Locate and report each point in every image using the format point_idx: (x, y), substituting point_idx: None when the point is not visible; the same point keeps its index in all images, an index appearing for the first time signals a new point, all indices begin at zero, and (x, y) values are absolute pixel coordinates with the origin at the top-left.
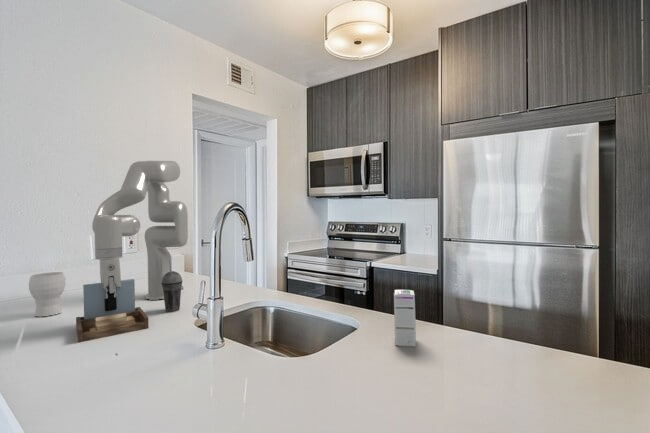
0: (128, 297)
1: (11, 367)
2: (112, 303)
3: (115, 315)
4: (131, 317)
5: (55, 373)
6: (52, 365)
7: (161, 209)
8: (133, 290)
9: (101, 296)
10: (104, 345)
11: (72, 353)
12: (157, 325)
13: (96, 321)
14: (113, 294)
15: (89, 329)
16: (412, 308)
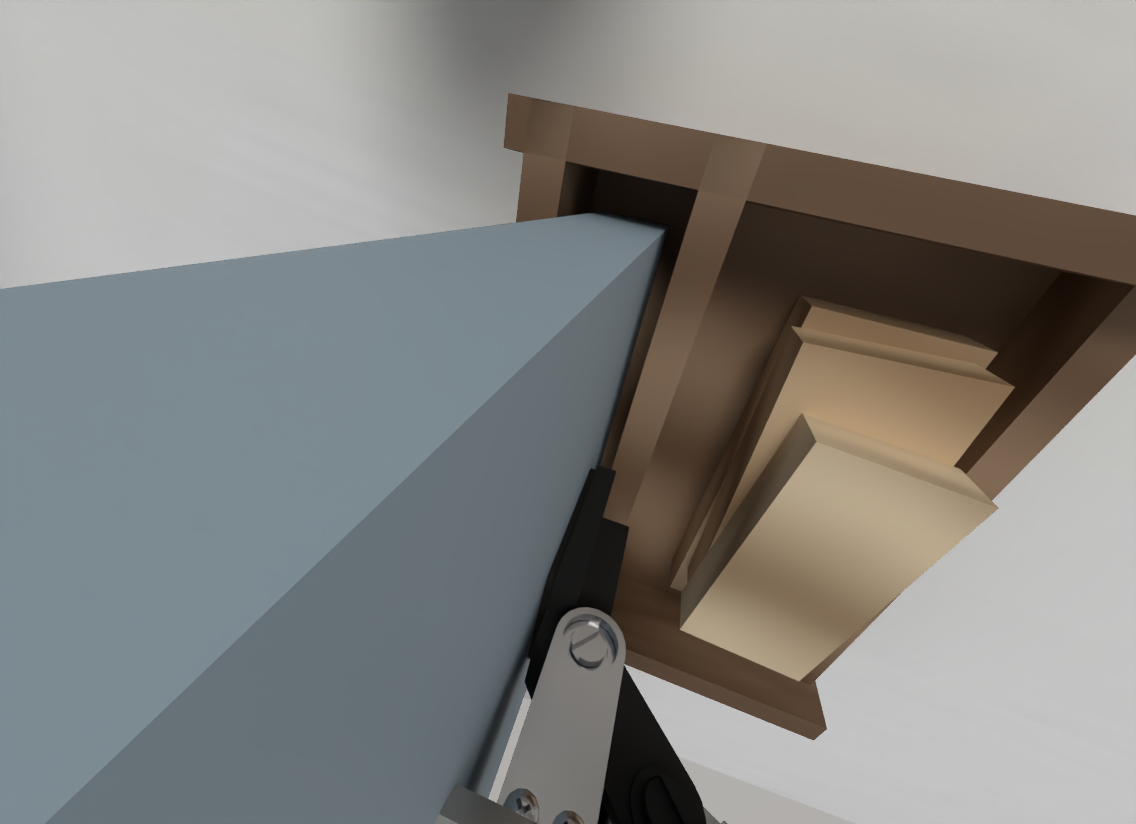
0: (597, 390)
1: (781, 786)
2: (618, 577)
3: (798, 541)
4: (883, 378)
5: (1094, 819)
6: (954, 772)
7: None
8: (583, 336)
9: (501, 733)
10: (970, 589)
11: (884, 689)
12: (1035, 34)
13: (800, 672)
14: (680, 778)
15: (676, 584)
16: None
